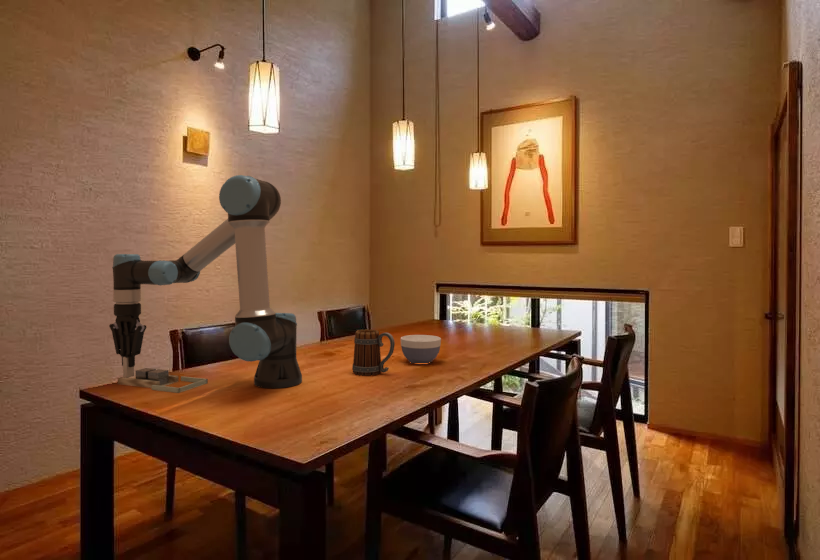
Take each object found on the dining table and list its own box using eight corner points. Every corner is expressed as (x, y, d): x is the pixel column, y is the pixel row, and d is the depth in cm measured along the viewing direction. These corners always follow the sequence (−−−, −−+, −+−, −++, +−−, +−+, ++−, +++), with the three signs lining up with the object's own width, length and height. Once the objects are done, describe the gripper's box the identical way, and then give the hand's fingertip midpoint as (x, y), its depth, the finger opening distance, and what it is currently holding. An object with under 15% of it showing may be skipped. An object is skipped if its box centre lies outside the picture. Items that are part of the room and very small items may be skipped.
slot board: (178, 386, 158) (178, 375, 158) (155, 393, 149) (155, 382, 149) (141, 381, 163) (141, 371, 162) (117, 388, 154) (117, 378, 154)
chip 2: (168, 382, 156) (168, 370, 156) (158, 385, 152) (158, 372, 152) (158, 381, 157) (158, 369, 157) (148, 384, 153) (148, 371, 153)
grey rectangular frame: (207, 387, 156) (207, 378, 156) (178, 397, 145) (178, 388, 144) (182, 384, 159) (182, 376, 159) (151, 394, 148) (151, 385, 148)
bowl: (398, 358, 204) (398, 334, 203) (437, 357, 205) (437, 334, 205) (402, 366, 188) (402, 341, 187) (444, 366, 190) (444, 341, 189)
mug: (346, 374, 175) (346, 332, 174) (360, 368, 185) (361, 328, 184) (387, 378, 169) (387, 335, 168) (399, 372, 179) (399, 330, 178)
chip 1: (156, 381, 157) (155, 368, 157) (145, 384, 154) (145, 371, 153) (146, 380, 159) (146, 367, 158) (135, 383, 155) (135, 370, 155)
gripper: (153, 302, 159) (154, 375, 160) (121, 301, 163) (123, 372, 164) (133, 304, 152) (134, 381, 153) (101, 303, 156) (102, 377, 157)
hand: (128, 376), depth 158 cm, fingers closed
